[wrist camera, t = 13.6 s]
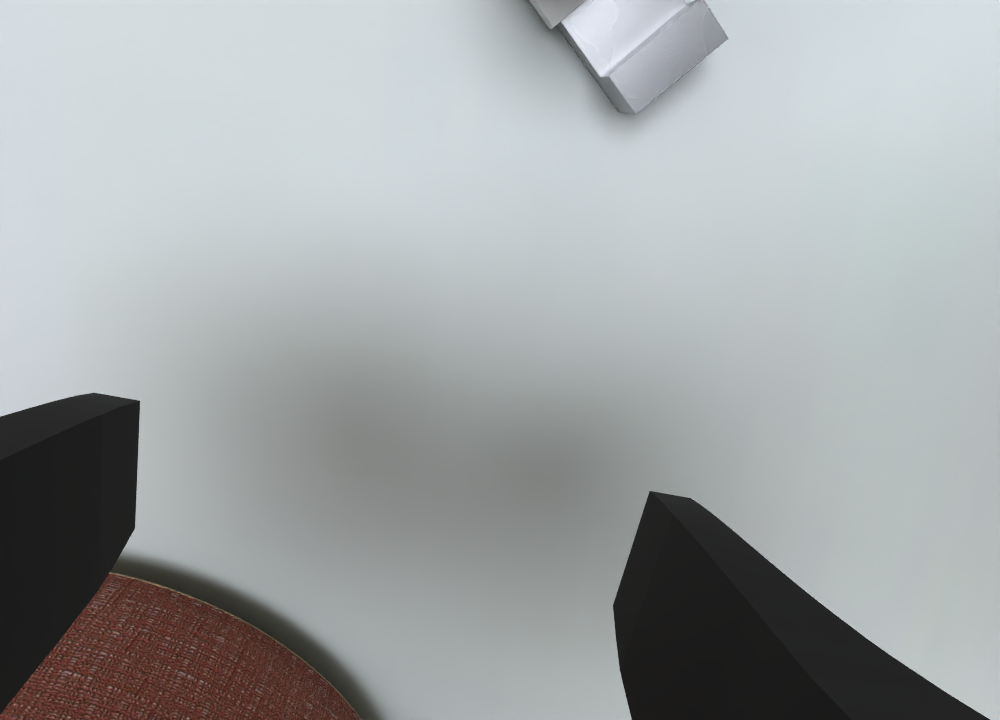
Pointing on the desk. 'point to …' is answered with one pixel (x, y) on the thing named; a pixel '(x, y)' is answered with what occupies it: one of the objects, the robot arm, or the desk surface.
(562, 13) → the lever
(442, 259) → the desk surface
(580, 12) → the rail
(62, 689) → the planter
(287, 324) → the desk surface
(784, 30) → the desk surface
